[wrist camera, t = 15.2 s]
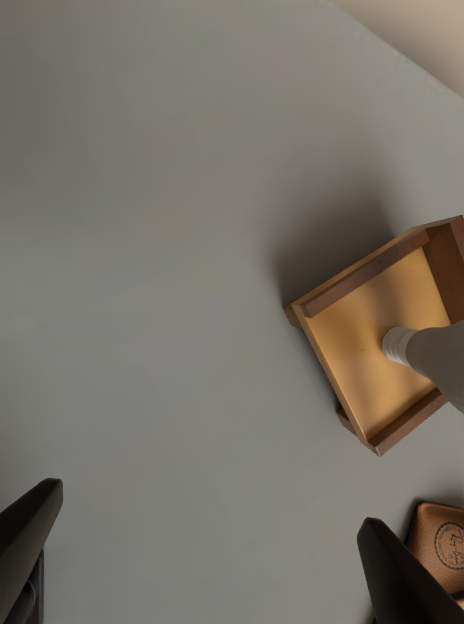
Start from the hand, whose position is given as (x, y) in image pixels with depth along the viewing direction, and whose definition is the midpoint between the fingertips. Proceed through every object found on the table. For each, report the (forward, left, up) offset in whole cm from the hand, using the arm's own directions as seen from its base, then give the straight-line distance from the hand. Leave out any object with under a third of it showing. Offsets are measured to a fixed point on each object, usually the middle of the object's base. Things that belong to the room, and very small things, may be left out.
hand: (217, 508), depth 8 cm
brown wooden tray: (+4, -16, -12) cm, 20 cm away
